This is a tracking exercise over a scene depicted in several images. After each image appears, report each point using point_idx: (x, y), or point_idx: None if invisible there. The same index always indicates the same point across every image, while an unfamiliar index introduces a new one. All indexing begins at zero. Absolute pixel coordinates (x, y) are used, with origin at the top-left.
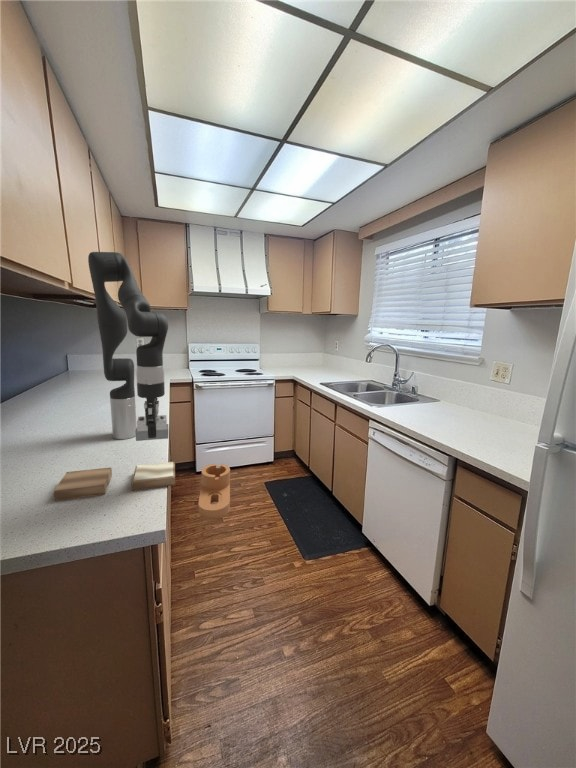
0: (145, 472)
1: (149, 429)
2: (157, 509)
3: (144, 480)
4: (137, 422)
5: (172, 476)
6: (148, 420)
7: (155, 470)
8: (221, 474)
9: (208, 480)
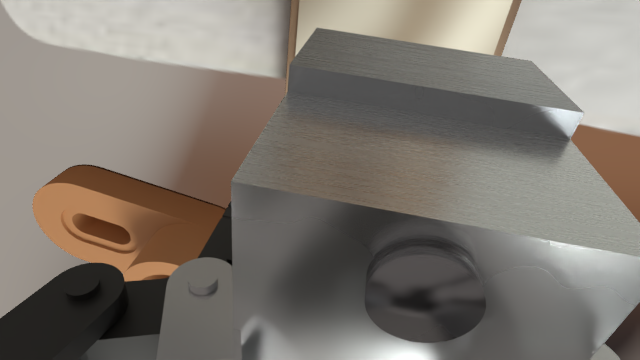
0: (381, 26)
1: (207, 245)
2: (120, 43)
3: (299, 12)
4: (236, 181)
5: None
6: (159, 358)
7: None
8: None
9: (136, 257)
